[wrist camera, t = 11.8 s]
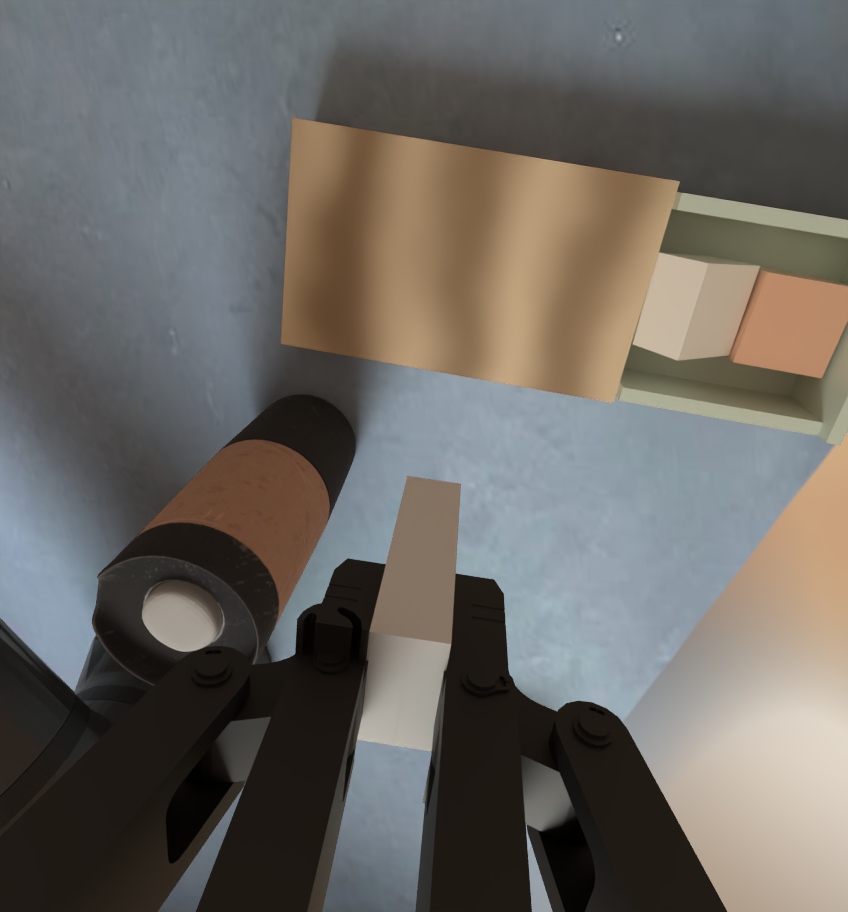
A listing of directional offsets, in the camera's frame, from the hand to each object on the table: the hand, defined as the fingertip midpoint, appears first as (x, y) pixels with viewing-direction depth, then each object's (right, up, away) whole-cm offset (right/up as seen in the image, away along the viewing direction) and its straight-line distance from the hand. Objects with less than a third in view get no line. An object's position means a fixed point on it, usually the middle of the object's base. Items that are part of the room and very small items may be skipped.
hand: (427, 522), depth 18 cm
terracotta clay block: (+20, +9, +16) cm, 27 cm away
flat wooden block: (+2, +14, +20) cm, 24 cm away
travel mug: (-8, +3, +26) cm, 28 cm away
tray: (+18, +11, +19) cm, 29 cm away
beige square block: (+14, +11, +18) cm, 25 cm away
